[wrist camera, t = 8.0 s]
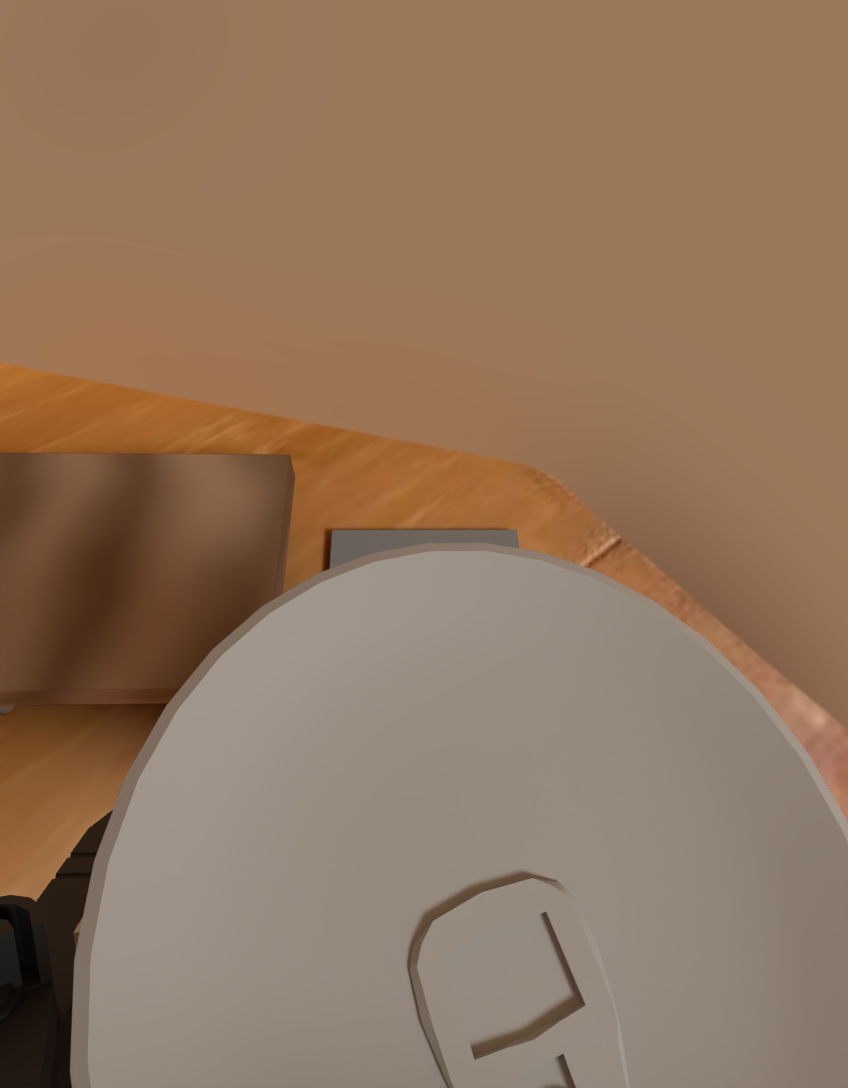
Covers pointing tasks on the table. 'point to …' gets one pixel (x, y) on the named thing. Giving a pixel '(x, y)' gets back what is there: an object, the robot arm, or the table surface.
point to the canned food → (466, 852)
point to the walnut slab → (131, 568)
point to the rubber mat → (407, 540)
